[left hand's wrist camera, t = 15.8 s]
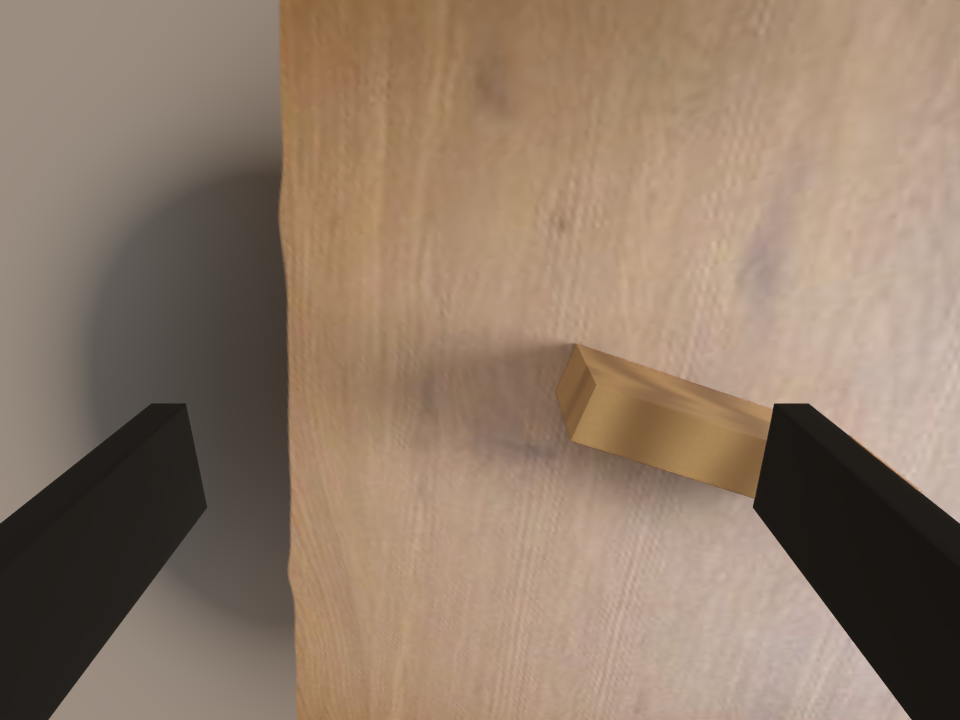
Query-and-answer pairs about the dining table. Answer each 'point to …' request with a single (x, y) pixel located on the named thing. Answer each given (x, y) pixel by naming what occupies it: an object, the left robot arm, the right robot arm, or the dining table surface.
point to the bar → (664, 421)
